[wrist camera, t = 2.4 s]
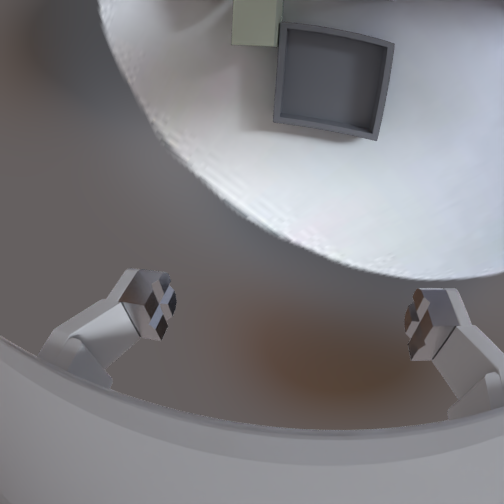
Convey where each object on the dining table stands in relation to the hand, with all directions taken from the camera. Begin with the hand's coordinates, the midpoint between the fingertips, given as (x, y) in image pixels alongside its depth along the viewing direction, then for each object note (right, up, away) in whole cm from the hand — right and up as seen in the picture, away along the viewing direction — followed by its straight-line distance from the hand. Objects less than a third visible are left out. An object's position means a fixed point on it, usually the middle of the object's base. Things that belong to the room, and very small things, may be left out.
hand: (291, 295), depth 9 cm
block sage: (0, +24, +11) cm, 26 cm away
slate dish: (+6, +18, +14) cm, 24 cm away
